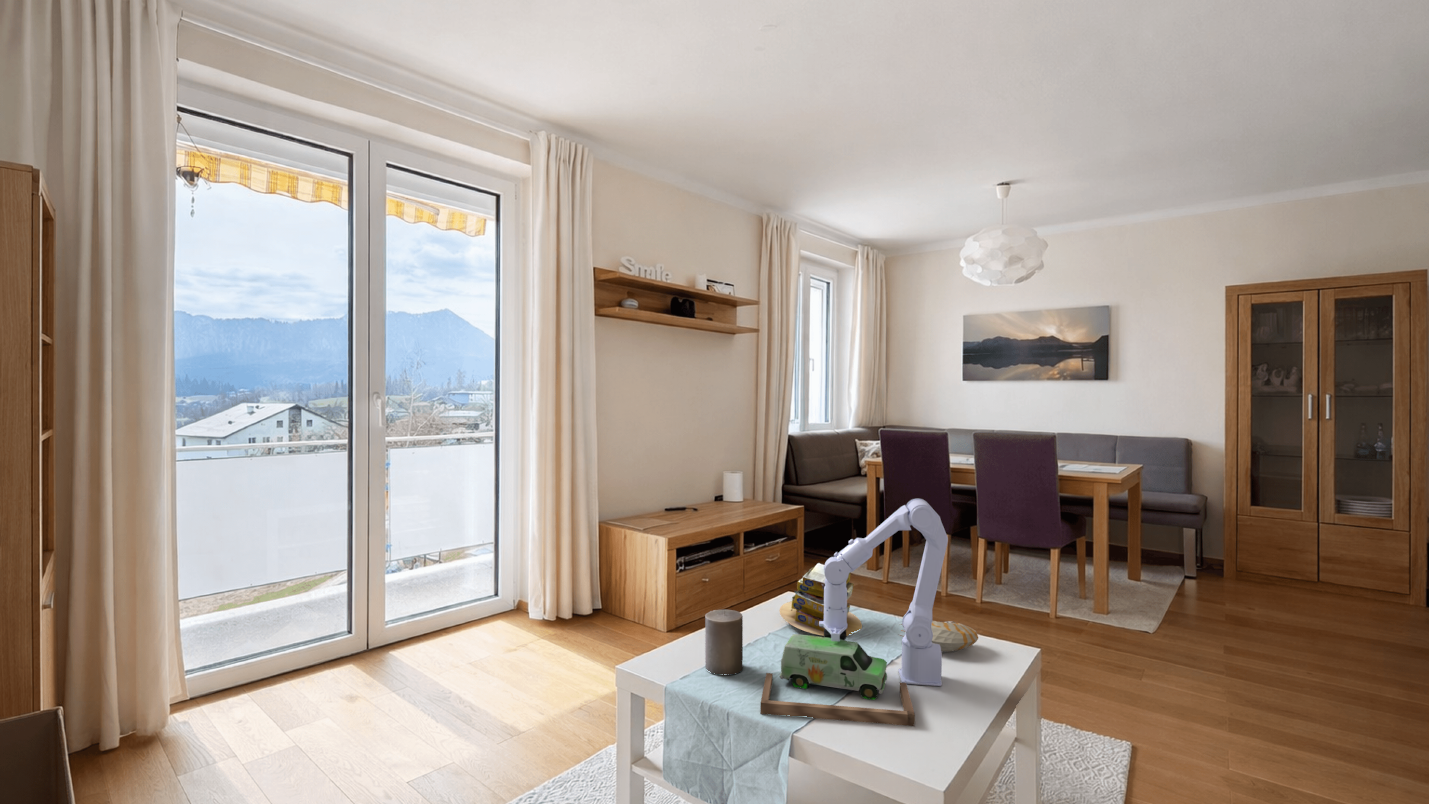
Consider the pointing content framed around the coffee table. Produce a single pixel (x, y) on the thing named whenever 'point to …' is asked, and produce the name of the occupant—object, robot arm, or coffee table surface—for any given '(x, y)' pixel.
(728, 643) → the pillar candle
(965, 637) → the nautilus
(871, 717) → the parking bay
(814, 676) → the toy car
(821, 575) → the stacked boxes on plate
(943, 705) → the coffee table surface
